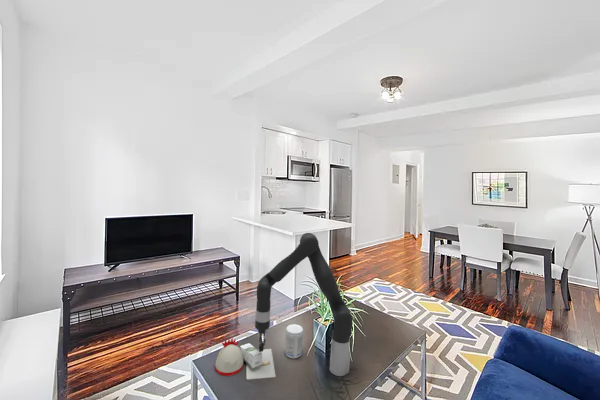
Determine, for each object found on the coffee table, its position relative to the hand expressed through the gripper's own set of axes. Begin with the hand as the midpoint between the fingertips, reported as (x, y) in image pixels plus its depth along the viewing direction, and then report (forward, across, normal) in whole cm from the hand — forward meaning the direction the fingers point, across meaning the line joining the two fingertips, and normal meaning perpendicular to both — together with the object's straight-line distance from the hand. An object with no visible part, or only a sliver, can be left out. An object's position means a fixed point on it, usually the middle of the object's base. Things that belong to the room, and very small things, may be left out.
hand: (261, 350), depth 138 cm
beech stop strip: (+9, +1, 0) cm, 9 cm away
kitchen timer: (+9, +3, +16) cm, 18 cm away
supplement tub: (+9, +9, -19) cm, 23 cm away
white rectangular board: (+9, +3, 0) cm, 9 cm away
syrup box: (+4, -2, +2) cm, 5 cm away
